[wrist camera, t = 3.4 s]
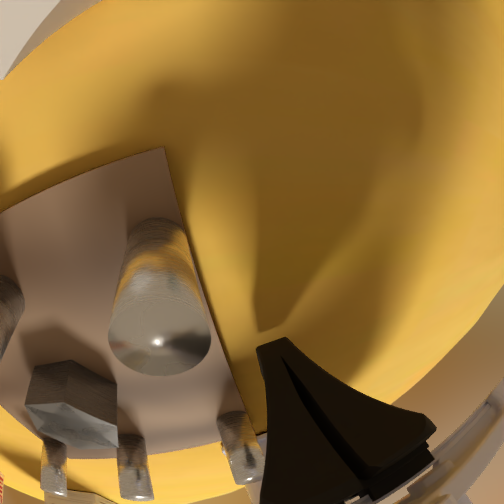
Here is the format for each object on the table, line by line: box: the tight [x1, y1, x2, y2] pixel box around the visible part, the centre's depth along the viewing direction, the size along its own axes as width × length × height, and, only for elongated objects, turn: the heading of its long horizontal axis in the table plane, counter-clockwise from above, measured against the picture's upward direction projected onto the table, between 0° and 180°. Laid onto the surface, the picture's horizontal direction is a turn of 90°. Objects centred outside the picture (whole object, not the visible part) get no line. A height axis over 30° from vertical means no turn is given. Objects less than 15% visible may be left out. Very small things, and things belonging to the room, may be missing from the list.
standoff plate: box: [0, 146, 254, 459], centre depth 10 cm, size 18×16×1 cm
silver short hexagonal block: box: [24, 359, 119, 450], centre depth 9 cm, size 4×5×2 cm
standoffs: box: [0, 217, 265, 501], centre depth 8 cm, size 14×16×4 cm
